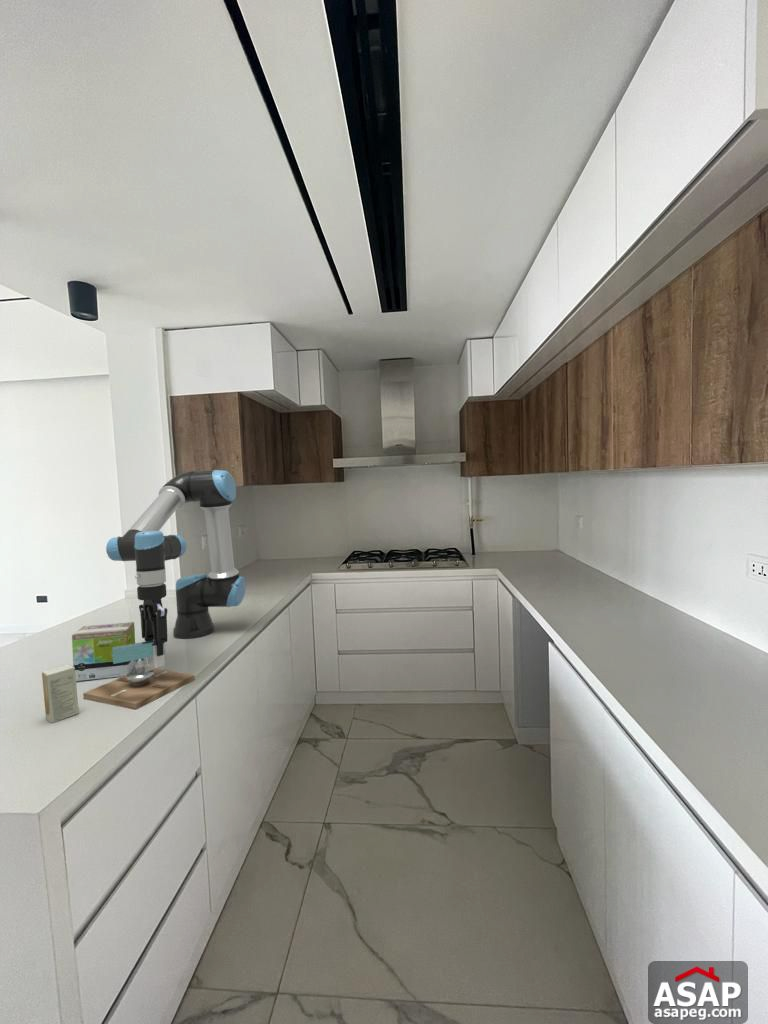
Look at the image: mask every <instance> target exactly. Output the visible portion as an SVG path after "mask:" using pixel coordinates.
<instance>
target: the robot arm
mask: <svg viewBox="0 0 768 1024" xmlns="http://www.w3.org/2000/svg"><path fill="white" fill-rule="evenodd" d="M236 496H237V485H236V481H235V480H234V477H233V476H232V474H231V473H230V472H229V471H227V470H222V469H221V470H220V469H219V470H218V469H214V470H212V469H211V470H209V469H208V470H197V471H196V470H195V471H194V470H189V471H185V472H183V473H180V474H178V475H176V476H174V477H173V478H171V479H170V480H168V481H167V482H165V484H164V485H162V486H161V488H160V489H159V490H158V496H157V497H156V498H155V499H154V500H153V502H152V503H151V504H150V505H149V506H148V507H147V508H146V509H145V511H144V512H143V513H142V514H141V516H139V518H138V519H137V520H136V521H135V522H134V523H133V524H132V525H131V526H130V528H129V529H128V530H127V531H126V533H124V534H123V536H120V535H119V536H116V537H115V536H113V537H111V538H110V539H109V540H108V541H107V543H106V546H105V550H106V551H105V552H106V555H107V557H108V558H109V559H110V560H112V561H114V562H132V561H133V562H135V567H136V568H135V573H136V575H135V576H134V577H135V579H136V584H137V585H138V586H137V588H136V593H137V595H136V596H137V600H138V601H143V604H140V605H139V604H138V608H139V609H138V610H139V613H140V614H139V616H140V628H141V638H142V639H144V642H146V641H152V640H154V643H153V644H152V646H153V657H148V658H146V664H147V665H148V666H150V665H152V664H153V668H155V669H158V668H161V667H164V666H165V665H166V664H165V654H164V643H167V642H169V641H168V618H167V617H168V608H167V607H165V608H164V606H163V603H162V599H163V598H165V597H167V584H166V581H167V575H166V574H167V572H166V563H165V562H166V561H170V560H176V559H178V558H181V557H183V555H184V554H185V553H186V551H187V542H186V540H185V538H184V537H183V536H181V535H178V534H169V535H168V534H167V535H164V533H163V532H162V528H163V527H164V525H165V524H166V523H167V521H168V520H169V519H170V518H171V517H172V515H173V514H174V513H175V512H176V511H177V509H179V508H182V507H183V506H184V505H185V504H187V503H190V502H191V503H193V502H194V503H195V502H198V503H199V508H200V509H202V510H203V511H204V516H205V524H206V534H207V535H206V536H207V542H208V550H209V559H210V569H211V571H210V572H209V573H208V574H207V573H204V572H203V573H197V574H191V575H186V576H183V577H179V578H178V579H176V582H175V589H174V590H175V597H176V598H175V599H176V601H175V602H176V619H175V625H174V627H173V632H172V633H173V637H174V638H178V639H193V638H200V636H201V637H204V636H207V634H208V635H209V633H210V634H212V633H214V631H215V624H214V622H213V620H212V617H211V614H210V612H209V611H210V610H209V608H210V607H211V608H218V607H219V608H224V607H225V608H230V607H231V608H232V607H237V606H239V605H240V604H242V602H243V600H244V598H245V594H246V589H247V584H246V583H247V582H246V581H247V580H246V579H245V577H244V576H240V571H239V570H238V569H237V568H236V567H235V562H234V561H235V560H234V551H233V541H232V532H231V524H230V523H231V522H230V514H229V509H230V507H231V506H232V505H233V503H232V501H234V500H235V499H236V498H237V497H236ZM211 632H212V633H211Z"/></svg>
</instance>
